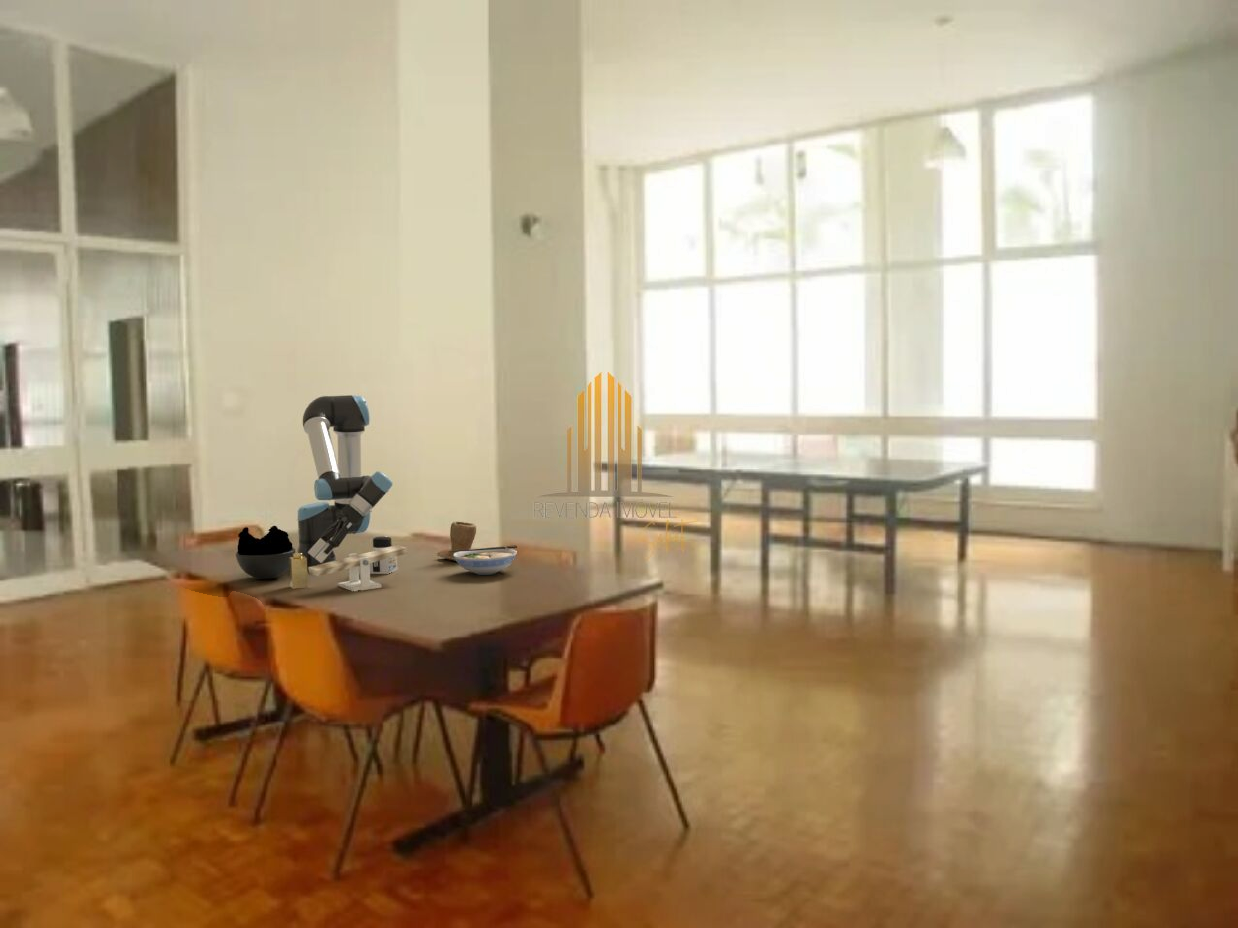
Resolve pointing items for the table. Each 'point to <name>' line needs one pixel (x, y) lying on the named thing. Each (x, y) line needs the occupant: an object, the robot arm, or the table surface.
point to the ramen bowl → (485, 559)
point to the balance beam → (357, 560)
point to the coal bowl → (264, 553)
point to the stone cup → (459, 538)
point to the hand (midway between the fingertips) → (314, 557)
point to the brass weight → (298, 571)
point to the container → (386, 564)
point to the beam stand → (364, 581)
